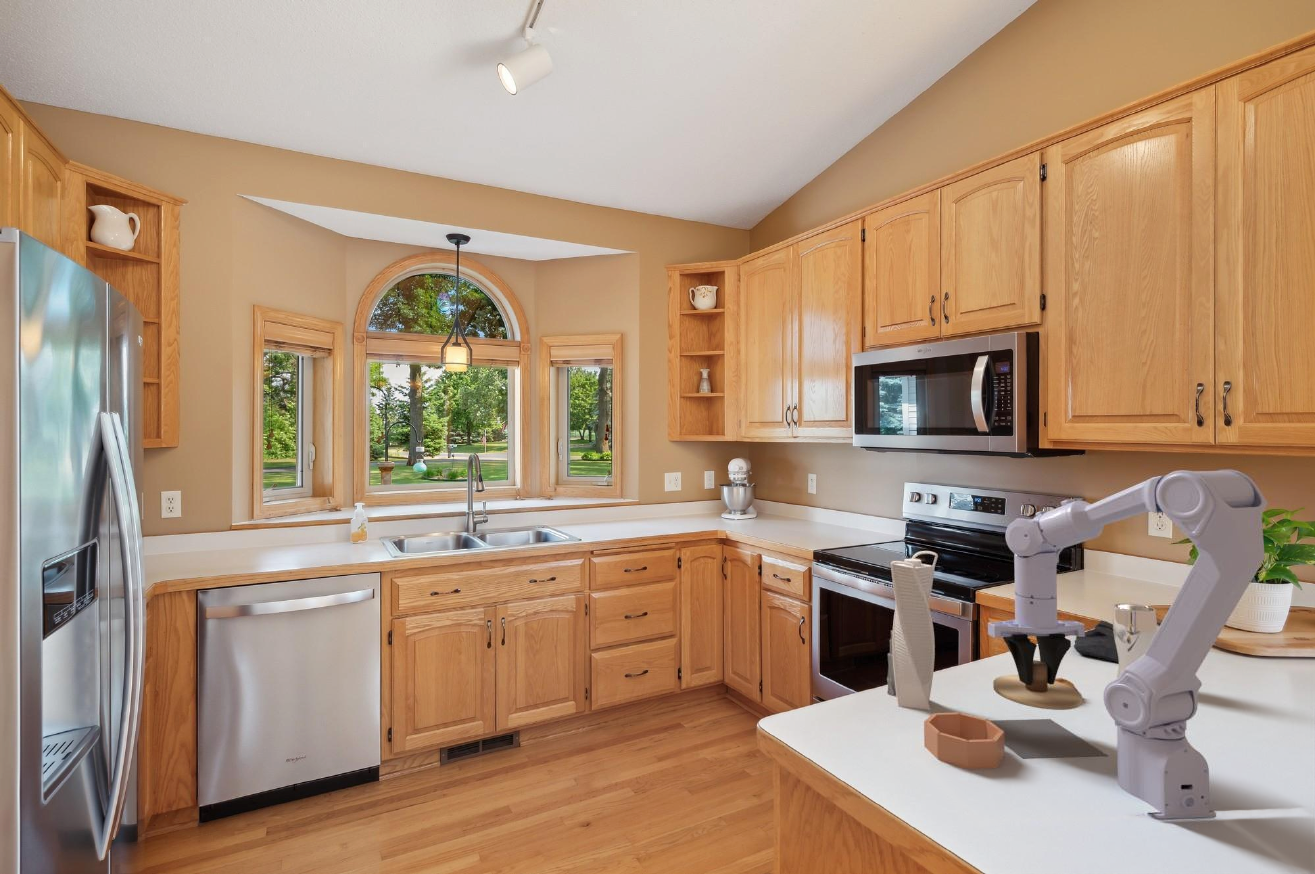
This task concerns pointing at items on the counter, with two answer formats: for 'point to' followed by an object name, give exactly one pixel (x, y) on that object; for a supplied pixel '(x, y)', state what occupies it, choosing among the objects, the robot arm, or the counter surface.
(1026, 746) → the mat
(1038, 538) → the robot arm
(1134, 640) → the beer glass
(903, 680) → the skyscraper
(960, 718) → the bowl
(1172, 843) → the counter surface
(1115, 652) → the dark slate chunk
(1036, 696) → the lid
